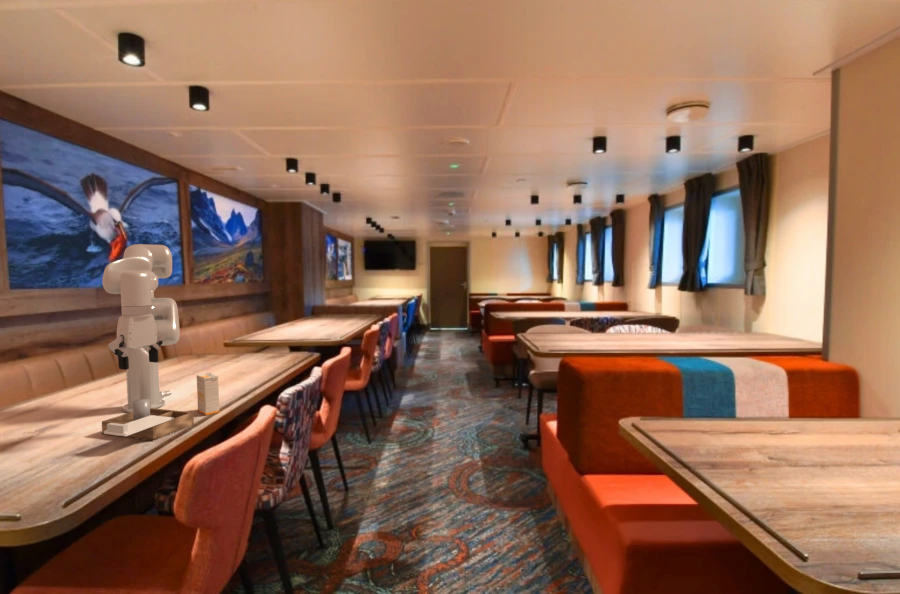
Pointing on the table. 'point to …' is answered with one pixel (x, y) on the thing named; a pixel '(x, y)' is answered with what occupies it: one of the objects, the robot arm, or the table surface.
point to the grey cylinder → (141, 409)
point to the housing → (176, 423)
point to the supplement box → (208, 393)
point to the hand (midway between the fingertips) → (139, 365)
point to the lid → (135, 425)
